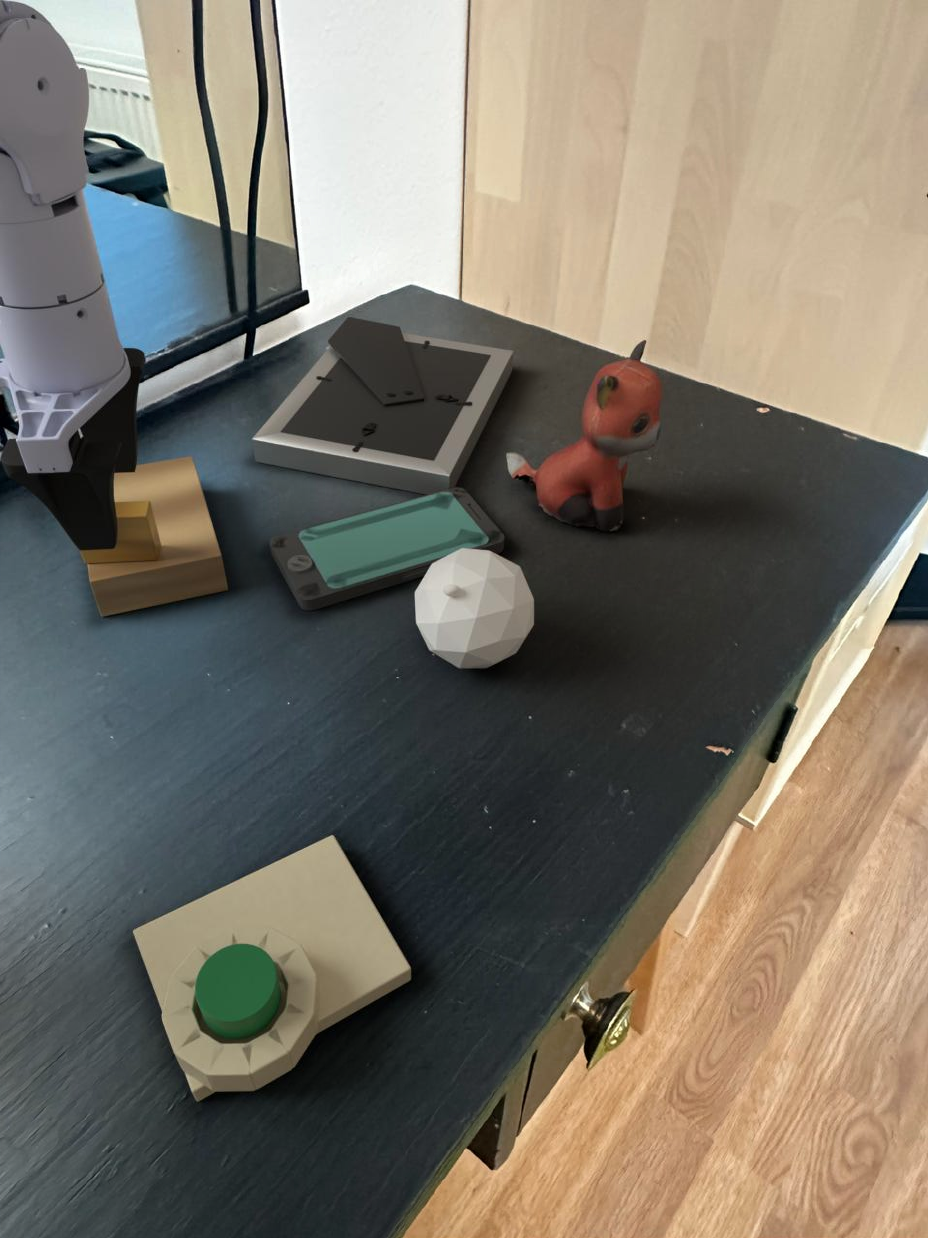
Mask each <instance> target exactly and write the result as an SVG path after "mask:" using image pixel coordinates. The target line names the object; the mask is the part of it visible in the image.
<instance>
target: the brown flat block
mask: <svg viewBox="0 0 928 1238" xmlns="http://www.w3.org/2000/svg"><path fill="white" fill-rule="evenodd" d="M114 500H115V502H132V501H150V502H151V506H152V510H153V514H154V518H155V522H156V526H157V530H158V534H159V538H160V542H161V548H160V552H159V557H158V560H148V561H126V562H104V563H86V564H87V571H88V572H87V573H88V580H89V584H90V588H91V590H92V593H93V596H94V599H95V602H96V606H97V608H98V611H99V615H100V616H101V618H103V617H108V616H112V615H117V614H122V613H127V612H131V611H136V610H142V609H147V608H151V607H155V606H160V605H164V604H169V603H175V602H180V601H183V600H187V599H193V598H198V597H202V596H207V595H211V594H217V593H221V592H225V591H226V592H227V591H229V587H228V586H229V585H228V581H227V575H226V570H225V565H224V561H223V556H222V552H221V549H220V546H219V542H218V539H217V534H216V532H215V529H214V526H213V521H212V518H211V515H210V511H209V507H208V505H207V501H206V497H205V494H204V490H203V487H202V484H201V480H200V477H199V474H198V469H197V467H196V463H195V459H194V457H193V456H192V455H191V456H190V455H189V456H185V457H178V458H172V459H171V458H170V459H165V460H160V461H154V462H148V463H143V464H137V465H136V470H135V472H128V473H114Z"/></svg>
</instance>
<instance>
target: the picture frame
mask: <svg viewBox="0 0 928 1238" xmlns="http://www.w3.org/2000/svg"><path fill="white" fill-rule="evenodd" d="M327 343H328V344H329V347H328V348H327V350H325V352H323V354H322V355H321V357H320V358H319V359H318V360H317V362H315V364H314V365H313V366H312V367H311V369H310V370H309V371H308V372H307V373H306V375H305V376H304V377H303V378H301V380H300V382H299V383H298V384H296V386H295V387H294V389H292V391H291V392H290V393H289V395H288V396H287V397H286V398H285V399H284V400H283V402H282V403H281V404H280V405H279V406H278V407H277V409H276V410H275V411H274V412H273V414H272V415H271V416H270V417H269V418H268V419H267V420H266V422H265V423H264V424H263V425H262V426H261V428H260V429H259V430H258V431H257V432H256V434H255V435H254V436H253V437H252V438H251V443H252V448H253V457H254V462H255V463H261V464H265V465H270V466H275V467H282V468H286V469H292V470H297V471H301V472H307V473H312V474H317V475H322V476H328V477H333V478H339V479H344V480H347V481H354V482H359V483H365V484H369V485H375V486H380V487H384V488H389V489H393V490H394V489H395V490H400V491H406V492H411V493H416V494H421V495H428V494H432V493H436V492H439V491H443V490H447V489H450V488H454V487H456V485H457V483H458V481H459V479H460V477H461V475H462V473H463V471H464V469H465V468H466V465H467V463H468V461H469V459H470V457H471V455H472V453H473V451H474V449H475V447H476V445H477V443H478V441H479V439H480V436H481V434H482V432H483V431H484V429H485V426H486V425H487V423H488V421H489V418H490V416H491V415H492V413H493V411H494V408H495V407H496V404H497V403H498V400H499V399H500V396H501V394H502V392H503V391H504V389H505V386H506V385H507V382H508V380H509V378H510V377H511V374H512V372H513V359H514V350H509V349H505V348H498V347H491V346H486V345H479V344H472V343H467V342H460V341H454V340H448V339H443V338H436V337H429V336H423V335H416V334H412V333H411V334H410V333H405V332H402V329H401V327H400V326H398V325H394V324H393V325H392V324H388V323H383V322H377V321H372V320H367V319H363V318H357V317H353V316H348V317H346V319H345V320H344V321H343V322H342V323H341V324H340V325H339V327H338V328H337V329H336V330H335V332H334V333H333V334H332V335H331V336H330V337H329V339H328V340H327Z"/></svg>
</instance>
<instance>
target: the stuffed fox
mask: <svg viewBox="0 0 928 1238" xmlns="http://www.w3.org/2000/svg"><path fill="white" fill-rule="evenodd" d="M646 345H647V340H646V339H643V340H642V341H640V342H639V343H637V344H636V346H635V347H634V348H633V350H632V351H631V353H630V355H629V357H628V358H627V359H623V360H618V361H614V362H612V363H607V364H606V365H603V366H602V368H600V369H599V370H598V372H597V373H596V375H595V377H594V379H592V380H593V381H592V383H591V385H590V387H589V389H588V392H587V394H586V397H585V400H584V403H583V406H582V411H581V430H582V432H583V436H582V437H580V438H579V439H578V440H577V441H576V442H573V443H571V444H569V445H567V446H565V447H563V448H562V449H560V450H557V451H556V452H554V453H552V454H551V455H550V456H548V457H547V458H546V459H545V460H544V461H543V462H542V463H541V464H540V465H539V467H538V468H534V467H533V466H532V465H531V463H530V462H529V460H528V459H527V458H526V457H525V456H523V455H522V454H521V453H519V452H517V451H512V452H511V451H510V452H506V462H507V470H508V473H509V475H510V477H511V478H512V479H513V480H517V479H518V481H522V482H524V483H525V484H529V485H532V486H536V487H535V488H536V499H537V500H538V506H539V507H541V508H542V509H543V512H544V513H546V514H548V515H549V516H550V517H554V518H555V519H557V520H558V521H560V522H561V523H567V524H569V525H571V526H574V527H580V526H581V527H589V528H592V527H596V529H599V530H601V531H603V532H613V531H618V530H620V529H622V526H623V522H624V512H623V511H624V501H623V485H624V483H625V480H626V476H627V472H628V470H629V469H628V467H629V464H628V462H629V461H628V460H629V458H630V456H631V455H632V454H634V453H639V452H645V451H648V450H650V449H652V448H653V447H655V446H656V444H657V443H658V440H659V437H660V433H661V425H662V424H661V417H660V406H661V402H662V395H663V388H662V381H661V379H660V377H659V375H658V374H657V372H655V370H653V368H651V367H650V366H648V365H646V364H645V363H643V362H642V361H641V359H642V358H643V355H644V352H645V349H646Z"/></svg>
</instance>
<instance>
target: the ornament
mask: <svg viewBox="0 0 928 1238" xmlns="http://www.w3.org/2000/svg"><path fill="white" fill-rule="evenodd" d="M414 608H415V609H414V610H415V625H416V626H417V628H418V630H419V633H420V634H421V637H422V638H423V640H424V642H425V644H426V646H427V648H428V651H429V652H431V653H433V654H435V655H436V656H438V657H439V658H441V659H443V660H445V661H447V662H448V663H450V664H452V665H453V666H455V667H456V668H458V669H488V668H490V667H492V666H494V665H496V664H498V663H500V662H502V661H503V660H505V659H507V658H509V657H511V656H514V655H515V654H517V653H518V651H519V649H520V648H521V646H522V645H523V643H524V641H525V640H526V638H527V637H528V635H529V634H530V632H531V630H532V629H533V627H534V625H535V598H534V595H533V594H532V591H531V589H530V587H529V584H528V582H527V580H526V578H525V575H524V572H523V570H522V568H521V566H520V565H518V564H516V563H514V562H513V561H510V560H509V559H507V558H505V557H503V556H500V555H499V554H495V553H493V552H491V551H489V550H478V549H468V548H461V549H459V550H457V551H455V552H454V553H452V554H450V555H448V556H446V557H444V558H442V559H440V560H438V561H436V562H434V563H432V564H431V566H430V568H429V569H428V571H427V573H426V574H425V576H423V578H422V579H421V581H420V583H419V584H418V586H417V588H416V589H415V591H414Z"/></svg>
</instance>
